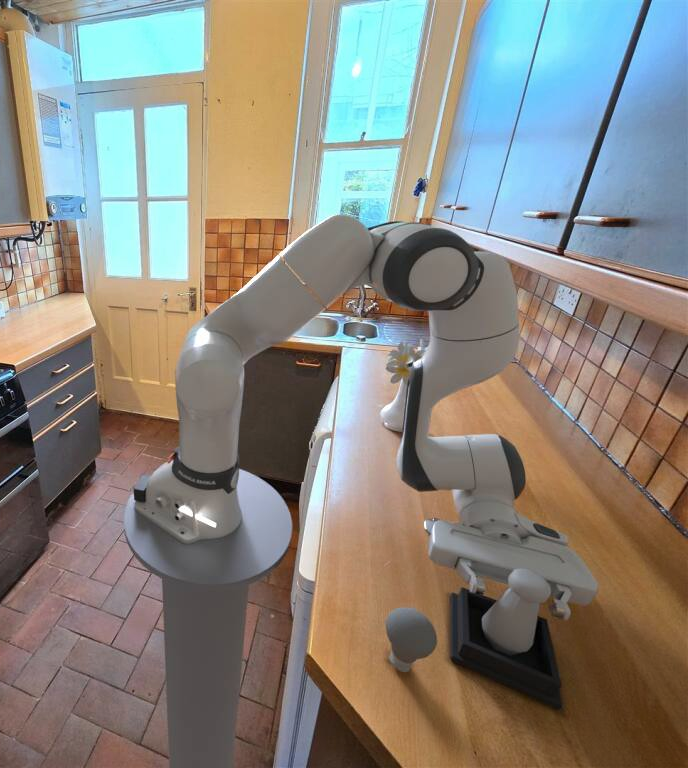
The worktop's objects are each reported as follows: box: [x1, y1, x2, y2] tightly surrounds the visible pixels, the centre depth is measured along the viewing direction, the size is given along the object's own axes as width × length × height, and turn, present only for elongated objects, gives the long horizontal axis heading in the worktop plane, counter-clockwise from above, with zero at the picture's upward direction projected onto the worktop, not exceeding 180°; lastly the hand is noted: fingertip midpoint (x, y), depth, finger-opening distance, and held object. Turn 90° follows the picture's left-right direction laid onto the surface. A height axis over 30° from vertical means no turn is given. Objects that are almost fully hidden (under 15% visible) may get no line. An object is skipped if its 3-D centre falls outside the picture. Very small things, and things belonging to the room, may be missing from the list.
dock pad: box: [449, 586, 563, 711], centre depth 59 cm, size 12×12×4 cm
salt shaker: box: [482, 569, 551, 656], centre depth 56 cm, size 6×6×13 cm
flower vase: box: [380, 338, 428, 433], centre depth 110 cm, size 13×18×25 cm
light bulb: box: [385, 606, 438, 673], centre depth 55 cm, size 6×6×10 cm
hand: (518, 603), depth 56 cm, fingers open, 8 cm apart
